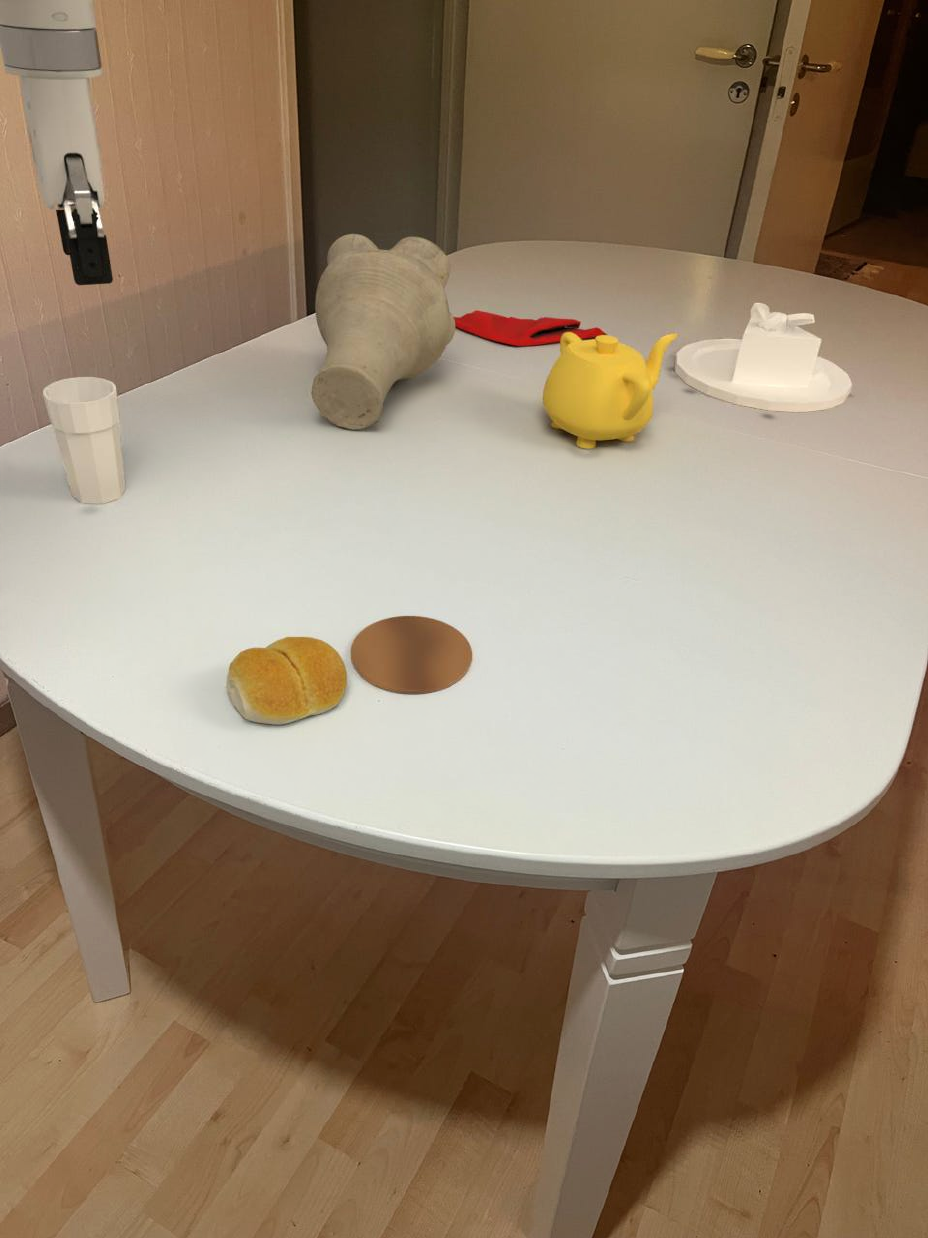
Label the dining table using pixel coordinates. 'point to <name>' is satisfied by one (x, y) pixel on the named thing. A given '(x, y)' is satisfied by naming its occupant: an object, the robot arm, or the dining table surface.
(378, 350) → the vase
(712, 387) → the dish
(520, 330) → the cloth
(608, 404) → the teapot
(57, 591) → the dining table surface
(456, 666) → the coaster
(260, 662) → the bread roll
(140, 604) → the dining table surface
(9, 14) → the robot arm
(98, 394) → the cup
